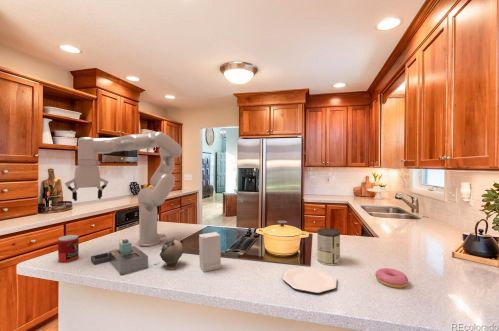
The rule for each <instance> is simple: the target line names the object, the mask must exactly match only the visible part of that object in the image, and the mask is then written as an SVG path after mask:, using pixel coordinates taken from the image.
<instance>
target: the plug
mask: <svg viewBox="0 0 499 331" xmlns="http://www.w3.org/2000/svg"><path fill="white" fill-rule="evenodd" d="M118 243H119V245H118V246H119V247H118V249H119V253H120V254H125V253H129V252H131V246H132V242H131V241H130V240H129V239H127V238H126V239H122V241H120V242H118Z"/></svg>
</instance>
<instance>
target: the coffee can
mask: <svg viewBox="0 0 499 331" xmlns="http://www.w3.org/2000/svg"><path fill="white" fill-rule="evenodd" d="M316 233H317V238H316V239H317V240H316V243H317V244H316V247H317V249H316V250H317V252H316V253H317V255H316V256H317V262H318V263H320V264H322V265H323V266H324V265H325V266H332V267H333V266H338V265H340V264H341V231H340V230H338V229H334V228H326V227H324V228H318V229H316Z"/></svg>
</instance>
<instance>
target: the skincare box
mask: <svg viewBox="0 0 499 331" xmlns="http://www.w3.org/2000/svg"><path fill="white" fill-rule="evenodd" d="M198 244H199V245H198V247H199V248H198V250H199V251H198V252H199V256H198V257H199V268H200V270H201V272H202V273H206V272H210V271H213V270H218V269H221V268H222V264H221V262H222V260H221V258H222V256H221V235H220V234H219V233H218V232H217V231H213V232H208V233H207V232H206V233H201V234H198Z"/></svg>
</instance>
